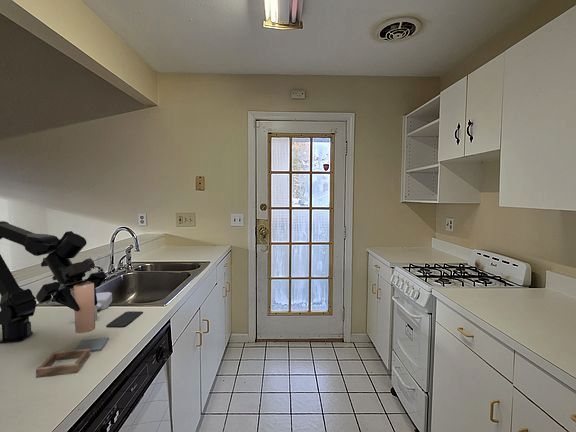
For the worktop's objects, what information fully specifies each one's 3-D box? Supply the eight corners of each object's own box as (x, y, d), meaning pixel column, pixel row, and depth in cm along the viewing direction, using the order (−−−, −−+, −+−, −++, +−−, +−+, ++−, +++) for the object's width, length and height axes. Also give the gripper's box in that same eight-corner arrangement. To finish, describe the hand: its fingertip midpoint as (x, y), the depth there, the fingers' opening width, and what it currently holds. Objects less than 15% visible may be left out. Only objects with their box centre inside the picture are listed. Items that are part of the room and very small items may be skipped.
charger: (77, 316, 124) (88, 304, 138) (103, 314, 127) (112, 302, 141) (76, 305, 124) (88, 293, 138) (103, 302, 127) (112, 291, 141)
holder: (36, 377, 83) (35, 369, 82) (53, 359, 92) (53, 352, 92) (77, 372, 85) (77, 365, 85) (90, 355, 94) (90, 348, 94)
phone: (144, 311, 129) (125, 326, 114) (144, 313, 129) (125, 328, 114) (126, 311, 129) (104, 326, 114) (126, 313, 129) (104, 328, 114)
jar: (72, 333, 94) (70, 287, 93) (79, 326, 99) (78, 282, 98) (91, 332, 95) (90, 286, 94) (97, 325, 100) (96, 281, 99)
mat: (71, 353, 95) (71, 351, 95) (81, 341, 103) (81, 339, 103) (101, 350, 97) (101, 348, 97) (109, 339, 105) (109, 337, 104)
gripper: (40, 257, 88) (68, 301, 85) (102, 247, 106) (127, 283, 102) (24, 281, 92) (50, 324, 88) (86, 268, 109) (110, 303, 106)
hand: (87, 307), depth 96 cm, fingers closed on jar, 5 cm apart
